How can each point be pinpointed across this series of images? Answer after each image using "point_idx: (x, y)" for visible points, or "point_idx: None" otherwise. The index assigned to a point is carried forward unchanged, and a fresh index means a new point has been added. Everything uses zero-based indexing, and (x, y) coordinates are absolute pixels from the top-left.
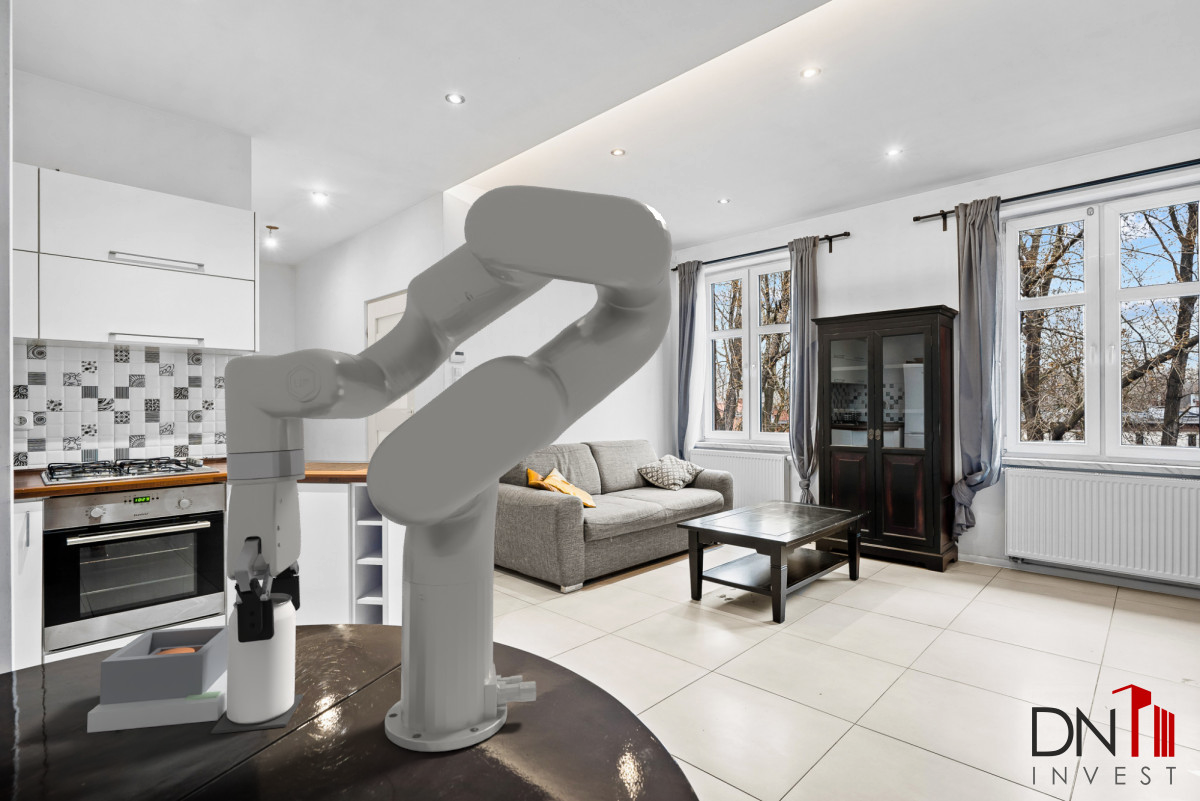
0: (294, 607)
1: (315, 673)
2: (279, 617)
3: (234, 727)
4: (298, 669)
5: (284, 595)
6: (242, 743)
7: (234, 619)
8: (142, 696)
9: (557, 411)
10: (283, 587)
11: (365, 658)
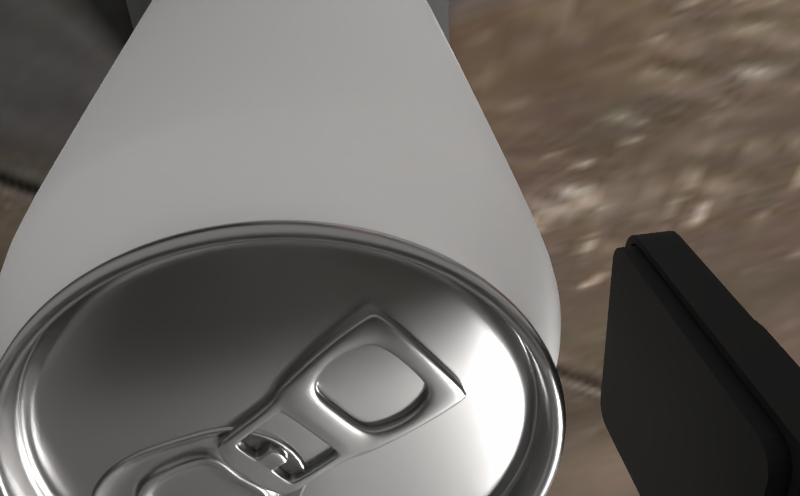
0: (609, 412)
1: (697, 135)
2: None
3: (142, 2)
4: (781, 38)
5: None
6: (37, 85)
7: (28, 253)
8: None
9: None
10: (694, 494)
11: (787, 284)
